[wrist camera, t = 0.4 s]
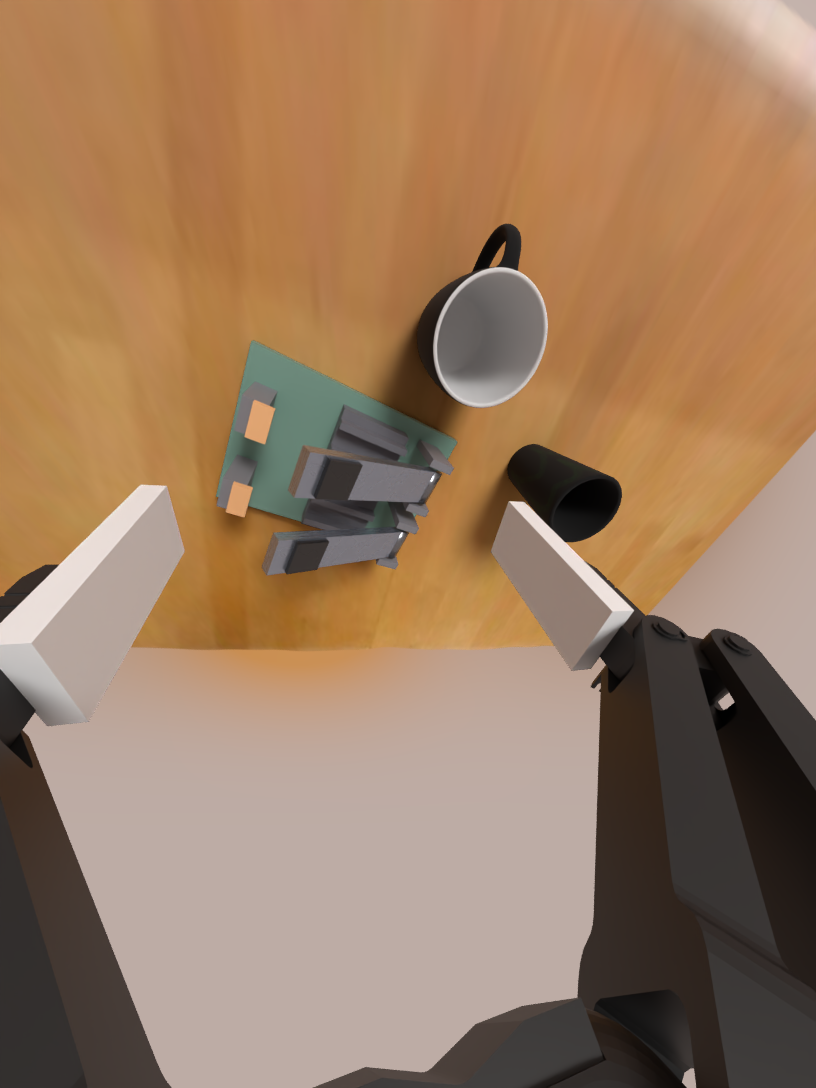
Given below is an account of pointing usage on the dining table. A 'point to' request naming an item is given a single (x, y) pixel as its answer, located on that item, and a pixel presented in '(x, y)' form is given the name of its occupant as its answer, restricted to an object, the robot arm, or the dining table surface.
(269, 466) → the socket board
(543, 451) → the cup
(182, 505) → the dining table surface
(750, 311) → the dining table surface
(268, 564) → the strap far
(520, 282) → the mug
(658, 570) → the dining table surface
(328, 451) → the strap near
